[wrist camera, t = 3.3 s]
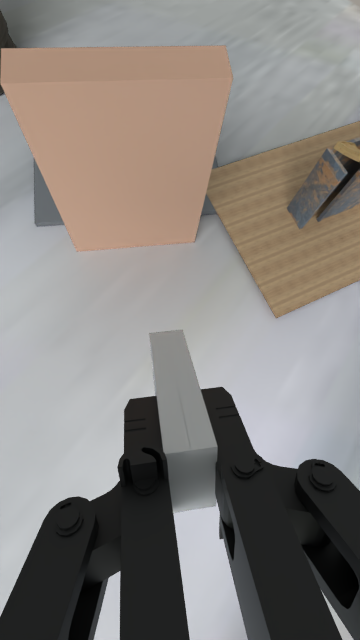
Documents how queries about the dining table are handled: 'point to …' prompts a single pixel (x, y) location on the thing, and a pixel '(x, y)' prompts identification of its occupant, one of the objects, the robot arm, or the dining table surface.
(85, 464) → the dining table surface
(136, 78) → the tile
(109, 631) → the dining table surface
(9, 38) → the beer stein
